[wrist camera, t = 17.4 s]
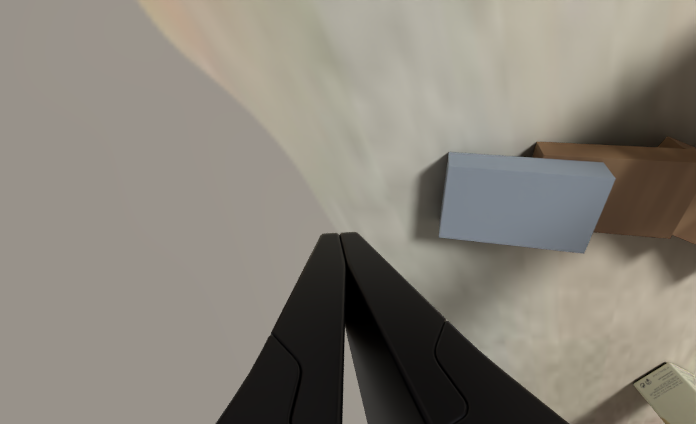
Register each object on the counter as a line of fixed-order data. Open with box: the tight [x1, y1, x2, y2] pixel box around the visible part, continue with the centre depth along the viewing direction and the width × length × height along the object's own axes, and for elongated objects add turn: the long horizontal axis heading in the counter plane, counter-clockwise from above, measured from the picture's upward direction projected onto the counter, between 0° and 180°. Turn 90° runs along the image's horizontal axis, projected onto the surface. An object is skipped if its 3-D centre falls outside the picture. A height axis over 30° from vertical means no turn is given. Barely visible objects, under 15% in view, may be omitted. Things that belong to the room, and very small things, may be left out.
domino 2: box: [532, 142, 696, 239], centre depth 22 cm, size 2×5×8 cm
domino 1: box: [439, 152, 616, 253], centre depth 21 cm, size 2×5×8 cm
